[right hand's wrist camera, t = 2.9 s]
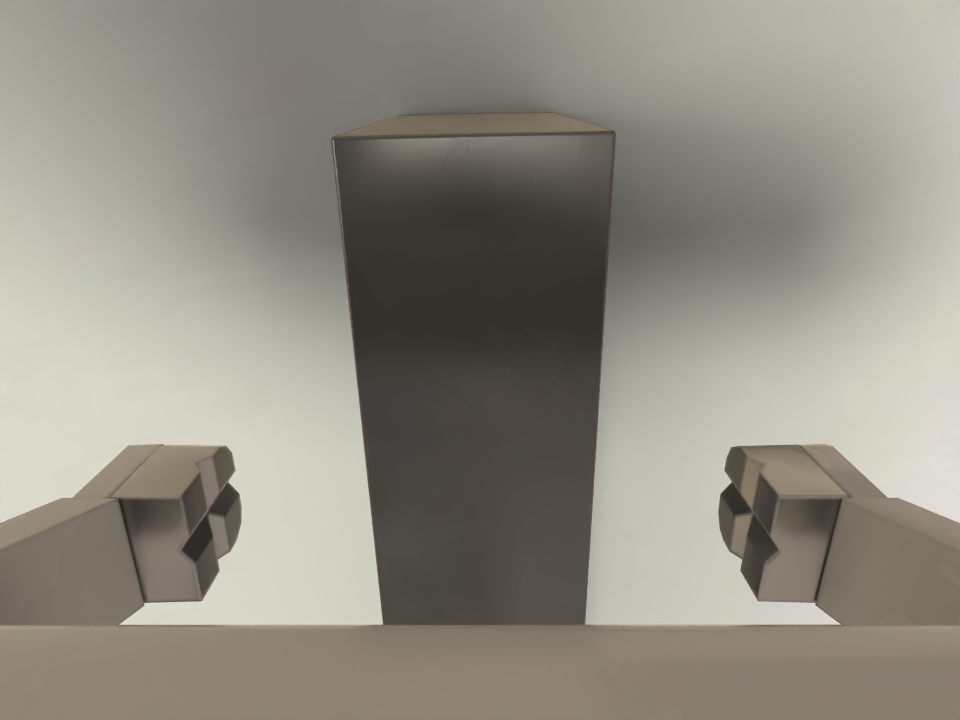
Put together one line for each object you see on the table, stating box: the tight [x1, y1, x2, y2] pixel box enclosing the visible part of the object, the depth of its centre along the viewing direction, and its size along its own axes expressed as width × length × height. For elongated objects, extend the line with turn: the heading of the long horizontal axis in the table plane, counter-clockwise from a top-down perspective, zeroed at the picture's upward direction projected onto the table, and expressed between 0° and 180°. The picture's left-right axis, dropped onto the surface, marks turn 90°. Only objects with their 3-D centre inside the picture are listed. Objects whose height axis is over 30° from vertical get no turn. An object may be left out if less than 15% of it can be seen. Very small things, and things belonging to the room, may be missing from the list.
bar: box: [331, 112, 616, 625], centre depth 19 cm, size 24×4×9 cm, turn 1°
